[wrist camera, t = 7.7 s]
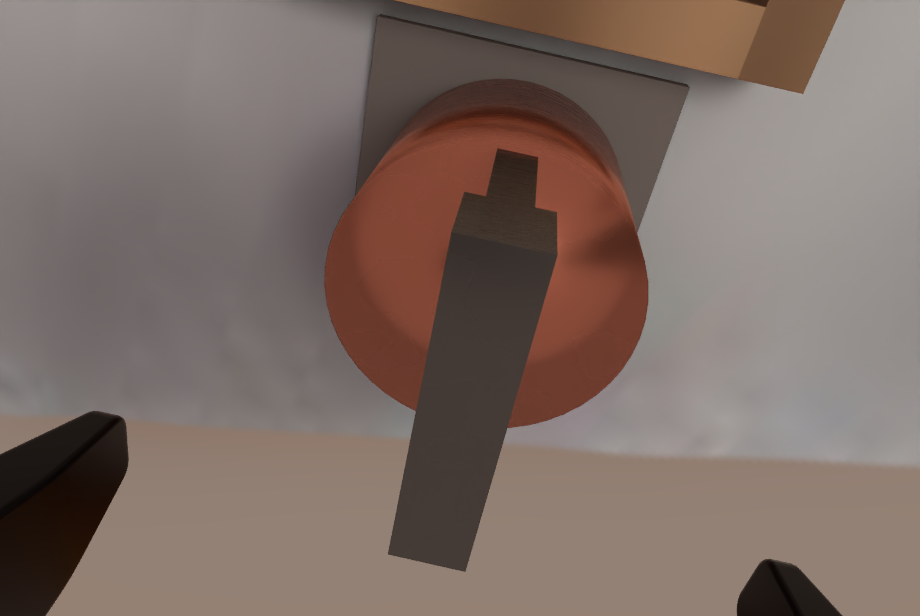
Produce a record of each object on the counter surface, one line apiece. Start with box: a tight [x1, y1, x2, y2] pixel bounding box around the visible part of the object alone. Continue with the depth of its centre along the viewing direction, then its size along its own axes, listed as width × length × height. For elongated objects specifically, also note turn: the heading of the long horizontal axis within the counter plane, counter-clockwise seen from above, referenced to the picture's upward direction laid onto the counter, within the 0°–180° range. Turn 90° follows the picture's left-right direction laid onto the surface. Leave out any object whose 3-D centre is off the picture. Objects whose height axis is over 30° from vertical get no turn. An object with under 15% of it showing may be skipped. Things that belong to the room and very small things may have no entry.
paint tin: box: [325, 79, 648, 571], centre depth 15 cm, size 7×7×10 cm
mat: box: [355, 14, 690, 231], centre depth 20 cm, size 8×8×1 cm
